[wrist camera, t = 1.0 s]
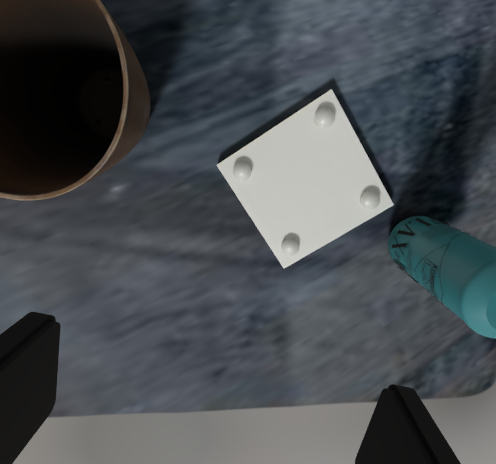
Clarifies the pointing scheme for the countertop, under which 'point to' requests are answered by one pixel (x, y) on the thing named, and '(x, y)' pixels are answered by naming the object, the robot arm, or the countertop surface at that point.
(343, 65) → the countertop surface
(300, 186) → the base plate
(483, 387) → the countertop surface
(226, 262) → the countertop surface
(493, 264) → the beverage bottle
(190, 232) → the countertop surface
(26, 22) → the plant pot
